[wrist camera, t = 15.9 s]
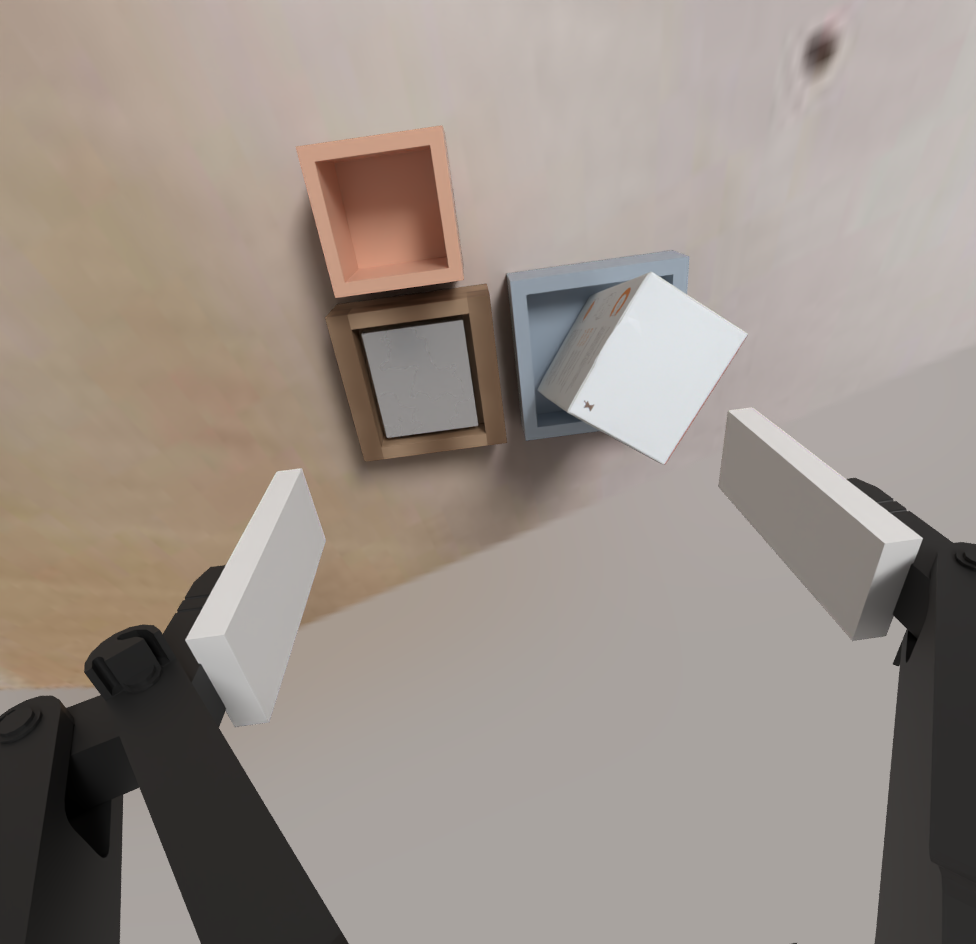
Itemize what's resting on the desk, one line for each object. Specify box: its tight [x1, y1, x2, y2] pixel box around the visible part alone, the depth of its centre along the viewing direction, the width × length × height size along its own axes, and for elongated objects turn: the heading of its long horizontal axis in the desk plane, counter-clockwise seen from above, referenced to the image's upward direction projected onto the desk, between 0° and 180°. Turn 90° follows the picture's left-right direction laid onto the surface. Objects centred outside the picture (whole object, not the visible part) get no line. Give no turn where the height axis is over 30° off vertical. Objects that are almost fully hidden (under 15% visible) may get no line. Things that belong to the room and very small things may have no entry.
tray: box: [507, 250, 689, 441], centre depth 40 cm, size 12×12×3 cm
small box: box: [537, 272, 748, 465], centre depth 33 cm, size 8×6×13 cm
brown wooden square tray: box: [325, 284, 507, 462], centre depth 39 cm, size 11×11×4 cm
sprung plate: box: [362, 316, 478, 438], centre depth 39 cm, size 7×8×1 cm
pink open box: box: [296, 126, 464, 298], centre depth 33 cm, size 8×8×6 cm
